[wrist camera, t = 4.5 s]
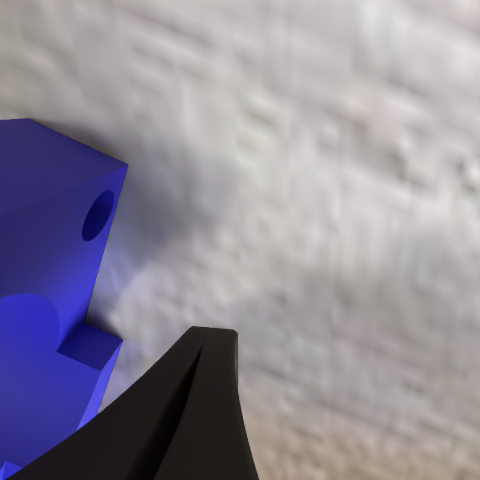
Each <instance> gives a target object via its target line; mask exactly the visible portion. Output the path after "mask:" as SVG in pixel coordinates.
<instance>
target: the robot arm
mask: <svg viewBox="0 0 480 480" xmlns="http://www.w3.org/2000/svg"><path fill="white" fill-rule="evenodd" d="M4 480H259V478H258V474H257V471H256V468H255V464H254V461H253V457H252V453H251V450H250V446H249V442H248V438H247V434H246V430H245V425H244V421H243V416H242V411H241V406H240V401H239V395H238V333H237V332H236V331H235V330H232V329H221V328H209V327H197V326H192V327H190V328H189V329H188V330H187V331H186V332H185V333H184V334H183V335H182V336H181V337H180V338H179V339H178V341H177V342H176V343H175V344H174V345H173V346H172V347H171V348H170V349H169V350H168V351H167V352H166V353H165V354H164V355H163V356H162V357H161V358H160V359H159V360H158V361H157V362H156V363H155V364H154V365H153V366H152V367H151V368H150V369H149V370H148V371H147V372H146V373H145V374H144V375H143V376H141V377H140V378H139V379H138V380H137V381H136V382H135V383H134V384H133V385H132V386H130V387H129V388H128V389H127V390H126V391H125V392H124V393H123V394H121V395H120V396H119V397H118V398H117V399H116V400H115V401H113V402H112V403H111V404H110V405H109V406H107V407H106V408H105V409H104V410H103V411H101V412H100V413H99V414H98V415H96V416H95V417H94V418H93V419H91V420H90V421H89V422H87V423H86V424H85V425H84V426H82V427H81V428H80V429H78V430H77V431H76V432H74V433H73V434H72V435H70V436H69V437H67V438H66V439H65V440H63V441H62V442H60V443H59V444H58V445H56V446H55V447H53V448H52V449H50V450H49V451H47V452H46V453H44V454H43V455H41V456H40V457H38V458H37V459H35V460H34V461H32V462H31V463H29V464H28V465H26V466H25V467H23V468H22V469H20V470H19V471H17V472H16V473H14V474H13V475H11V476H9V477H8V478H6V479H4Z"/></svg>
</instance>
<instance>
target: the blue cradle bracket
mask: <svg viewBox="0 0 480 480" xmlns="http://www.w3.org/2000/svg"><path fill="white" fill-rule="evenodd" d="M127 168H128V164H126V163H124V162H121V161H119V160H117V159H115V158H113V157H111V156H108V155H106V154H104V153H102V152H100V151H97V150H95V149H93V148H91V147H89V146H87V145H84V144H82V143H80V142H78V141H76V140H74V139H71V138H69V137H67V136H65V135H63V134H61V133H58V132H56V131H54V130H52V129H50V128H48V127H45V126H43V125H41V124H39V123H37V122H34V121H32V120H30V119H28V118H23V119H9V120H0V480H4V479H6V478H8V477H9V476H11V475H13V474H14V473H16V472H17V471H19V470H20V469H22V468H23V467H25V466H26V465H28V464H29V463H31V462H32V461H34V460H35V459H37V458H38V457H40V456H41V455H43V454H44V453H46V452H47V451H49V450H50V449H52V448H53V447H55V446H56V445H58V444H59V443H60V442H62V441H63V440H65V439H66V438H67V437H69V436H70V435H72V434H73V433H74V432H76V431H77V430H78V429H80V428H81V427H82V426H84V425H85V424H86V423H87V422H89V421H90V420H91V419H93V418H94V417H95V416H96V414H97V411H98V408H99V406H100V403H101V400H102V397H103V394H104V392H105V389H106V386H107V383H108V381H109V378H110V375H111V372H112V369H113V367H114V364H115V361H116V358H117V356H118V353H119V350H120V347H121V344H122V342H123V340H122V339H120V338H118V337H115V336H113V335H111V334H109V333H106V332H104V331H102V330H100V329H97V328H95V327H93V326H90V325H88V324H86V323H84V319H85V315H86V312H87V308H88V305H89V301H90V298H91V294H92V291H93V287H94V284H95V280H96V277H97V273H98V270H99V266H100V263H101V259H102V255H103V252H104V248H105V245H106V241H107V238H108V234H109V231H110V227H111V224H112V220H113V217H114V213H115V210H116V206H117V203H118V199H119V196H120V192H121V189H122V185H123V182H124V178H125V175H126V171H127Z"/></svg>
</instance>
